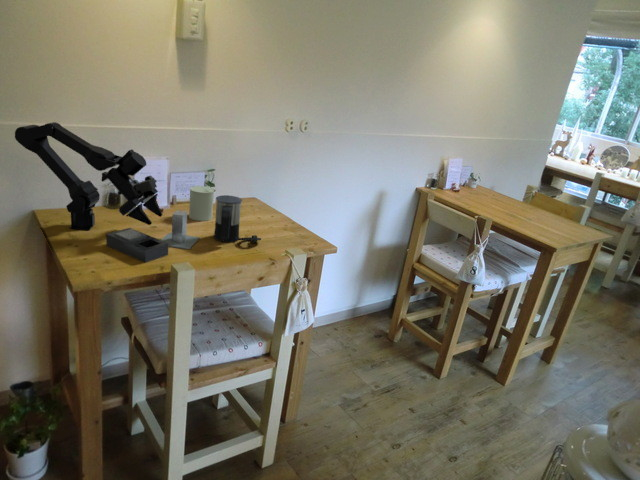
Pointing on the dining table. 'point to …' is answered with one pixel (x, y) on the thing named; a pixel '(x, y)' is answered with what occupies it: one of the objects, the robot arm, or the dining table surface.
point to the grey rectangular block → (179, 226)
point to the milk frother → (229, 219)
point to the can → (201, 203)
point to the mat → (185, 245)
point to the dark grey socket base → (137, 244)
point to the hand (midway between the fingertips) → (156, 220)
